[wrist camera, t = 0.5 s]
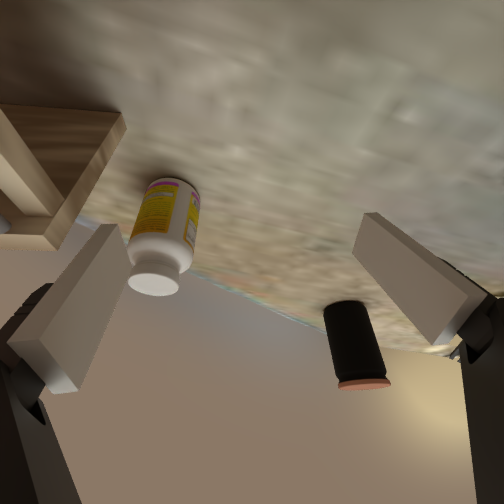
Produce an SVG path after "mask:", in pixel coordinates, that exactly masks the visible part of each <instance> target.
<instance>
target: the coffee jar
mask: <svg viewBox="0 0 504 504" xmlns="http://www.w3.org/2000/svg"><path fill="white" fill-rule="evenodd" d="M323 317H324V321H325V326H326V331H327V336H328V340H329V345H330V350H331V355H332V359H333V364H334V369H335V374H336V376H337V378H338V379H339V384H338V388H339V389H340V390H369V389H378V388H384V387H388V386H390V385H391V383H390V381H389V380H388V379H387V378H386V376H385V375H386V368H385V365H384V361H383V358H382V356H381V353H380V350H379V346H378V343H377V340H376V337H375V334H374V331H373V328H372V325H371V322H370V319H369V315H368V312H367V309H366V308H365V307H364V306H363V305H362V304H361V303H359V302H356V301H344V302H338V303H335V304H332V305H330V306H328V307H327V308H326V309H325V312H324V314H323Z"/></svg>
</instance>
